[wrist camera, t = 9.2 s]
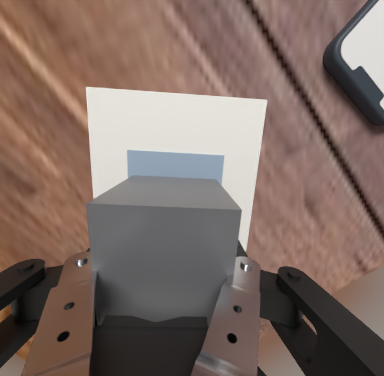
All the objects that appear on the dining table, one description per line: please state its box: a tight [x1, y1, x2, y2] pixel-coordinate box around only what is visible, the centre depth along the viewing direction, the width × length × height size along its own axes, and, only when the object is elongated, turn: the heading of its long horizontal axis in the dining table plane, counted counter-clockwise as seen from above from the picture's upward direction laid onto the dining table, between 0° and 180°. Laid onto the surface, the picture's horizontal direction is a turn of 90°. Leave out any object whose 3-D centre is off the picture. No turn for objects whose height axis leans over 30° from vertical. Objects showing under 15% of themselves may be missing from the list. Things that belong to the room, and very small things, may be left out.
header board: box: [86, 87, 267, 252], centre depth 16 cm, size 14×20×4 cm
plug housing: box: [86, 175, 242, 326], centre depth 11 cm, size 6×8×6 cm
